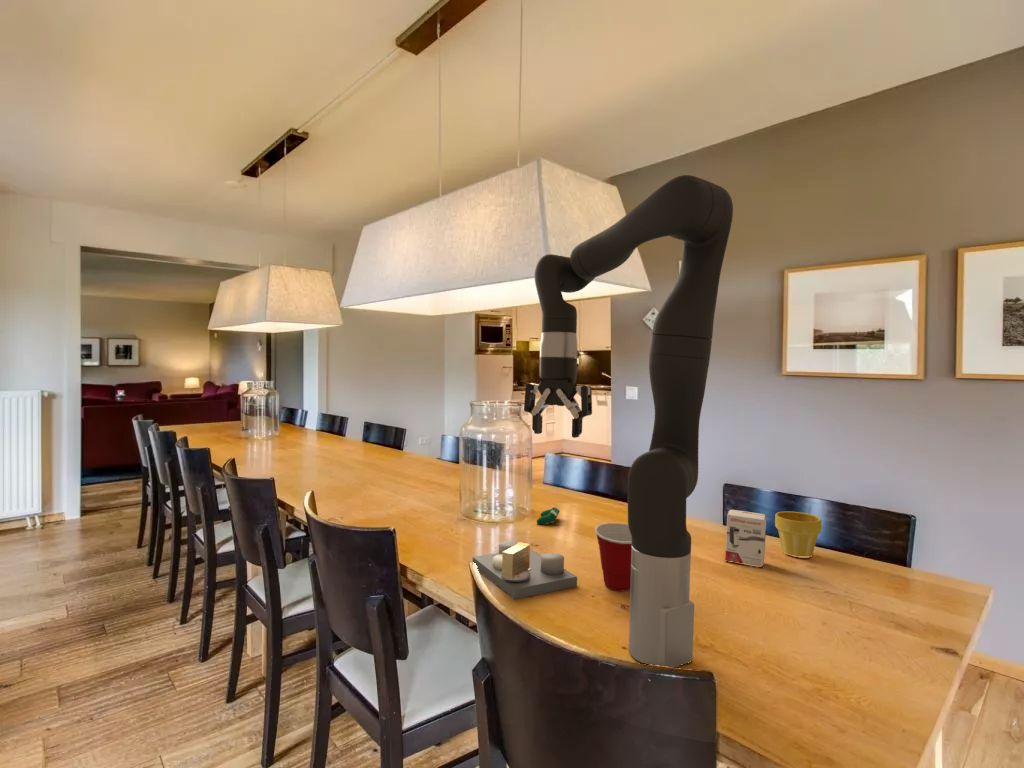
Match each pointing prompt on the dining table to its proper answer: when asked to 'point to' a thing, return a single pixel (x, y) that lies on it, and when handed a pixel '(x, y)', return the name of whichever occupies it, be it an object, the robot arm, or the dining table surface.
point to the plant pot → (798, 532)
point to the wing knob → (516, 563)
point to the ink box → (745, 537)
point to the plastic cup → (615, 554)
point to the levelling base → (542, 568)
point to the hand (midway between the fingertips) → (556, 435)
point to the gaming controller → (548, 516)
